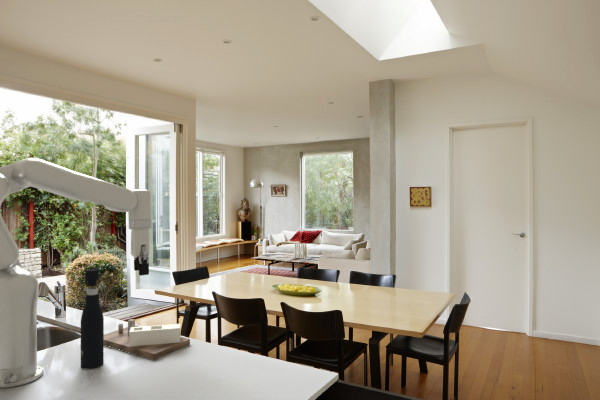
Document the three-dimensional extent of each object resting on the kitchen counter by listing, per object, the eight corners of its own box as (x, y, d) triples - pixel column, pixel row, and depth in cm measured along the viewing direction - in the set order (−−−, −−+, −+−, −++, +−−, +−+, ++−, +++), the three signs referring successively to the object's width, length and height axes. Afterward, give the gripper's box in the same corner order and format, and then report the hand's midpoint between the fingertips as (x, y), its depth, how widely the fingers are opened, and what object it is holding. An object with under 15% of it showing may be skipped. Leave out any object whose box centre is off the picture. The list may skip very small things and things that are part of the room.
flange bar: (180, 337, 149) (180, 323, 149) (180, 342, 144) (180, 328, 144) (130, 341, 145) (131, 327, 145) (129, 346, 140) (129, 331, 140)
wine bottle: (107, 361, 133) (107, 268, 132) (95, 369, 126) (96, 271, 126) (88, 360, 133) (88, 267, 133) (76, 368, 127) (76, 271, 126)
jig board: (189, 344, 148) (190, 323, 148) (154, 360, 134) (154, 337, 134) (133, 330, 163) (133, 311, 162) (95, 342, 149) (95, 322, 148)
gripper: (125, 223, 152) (126, 269, 152) (132, 227, 137) (134, 278, 138) (146, 222, 156) (147, 267, 156) (156, 225, 141) (157, 275, 141)
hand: (141, 272), depth 147 cm, fingers open, 9 cm apart
